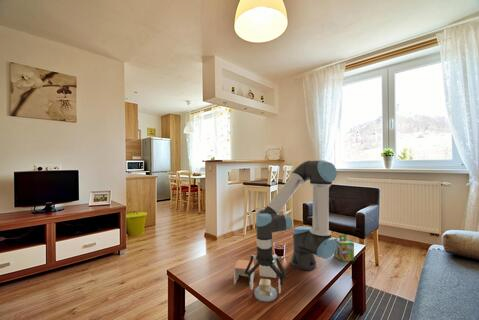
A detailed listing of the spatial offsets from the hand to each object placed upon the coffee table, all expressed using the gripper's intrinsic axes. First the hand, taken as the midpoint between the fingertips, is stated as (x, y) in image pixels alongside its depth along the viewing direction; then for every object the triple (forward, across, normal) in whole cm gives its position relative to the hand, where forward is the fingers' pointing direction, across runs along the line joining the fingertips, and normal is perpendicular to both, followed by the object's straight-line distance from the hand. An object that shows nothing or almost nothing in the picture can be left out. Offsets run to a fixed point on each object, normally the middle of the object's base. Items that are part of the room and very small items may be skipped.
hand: (265, 289), depth 104 cm
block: (+1, 0, 0) cm, 1 cm away
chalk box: (+2, -45, -49) cm, 67 cm away
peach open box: (+2, +13, -10) cm, 17 cm away
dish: (+2, 0, 0) cm, 2 cm away
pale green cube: (+2, +1, -20) cm, 21 cm away
